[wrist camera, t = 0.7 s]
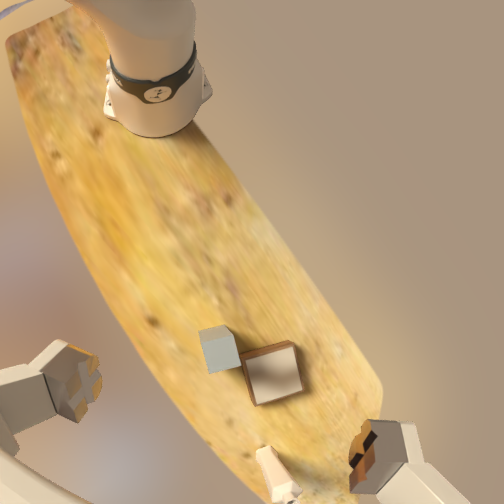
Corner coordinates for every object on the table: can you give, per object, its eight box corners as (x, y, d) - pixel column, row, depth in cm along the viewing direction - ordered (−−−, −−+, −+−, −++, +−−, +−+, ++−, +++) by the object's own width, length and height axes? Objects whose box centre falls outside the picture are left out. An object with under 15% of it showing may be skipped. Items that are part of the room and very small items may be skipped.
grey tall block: (198, 331, 47) (200, 342, 37) (224, 324, 48) (233, 334, 38) (205, 356, 47) (209, 373, 37) (230, 349, 48) (241, 365, 38)
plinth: (238, 354, 48) (242, 359, 45) (288, 340, 50) (294, 343, 46) (251, 400, 48) (255, 407, 44) (298, 385, 49) (305, 391, 46)
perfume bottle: (283, 445, 48) (314, 491, 33) (274, 465, 47) (302, 514, 32) (257, 441, 47) (282, 489, 32) (249, 461, 46) (271, 513, 32)
